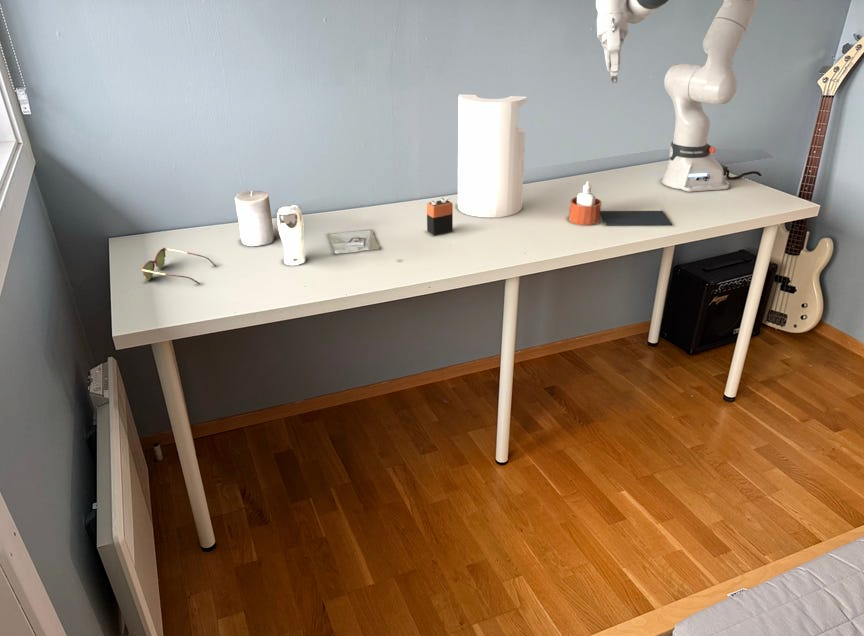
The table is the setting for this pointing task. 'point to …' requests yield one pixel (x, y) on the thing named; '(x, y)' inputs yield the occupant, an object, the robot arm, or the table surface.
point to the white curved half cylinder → (490, 156)
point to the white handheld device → (291, 233)
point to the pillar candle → (254, 218)
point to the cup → (584, 212)
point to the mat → (635, 218)
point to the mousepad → (353, 241)
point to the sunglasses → (162, 264)
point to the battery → (439, 217)
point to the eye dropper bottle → (586, 196)
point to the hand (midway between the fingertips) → (614, 77)
